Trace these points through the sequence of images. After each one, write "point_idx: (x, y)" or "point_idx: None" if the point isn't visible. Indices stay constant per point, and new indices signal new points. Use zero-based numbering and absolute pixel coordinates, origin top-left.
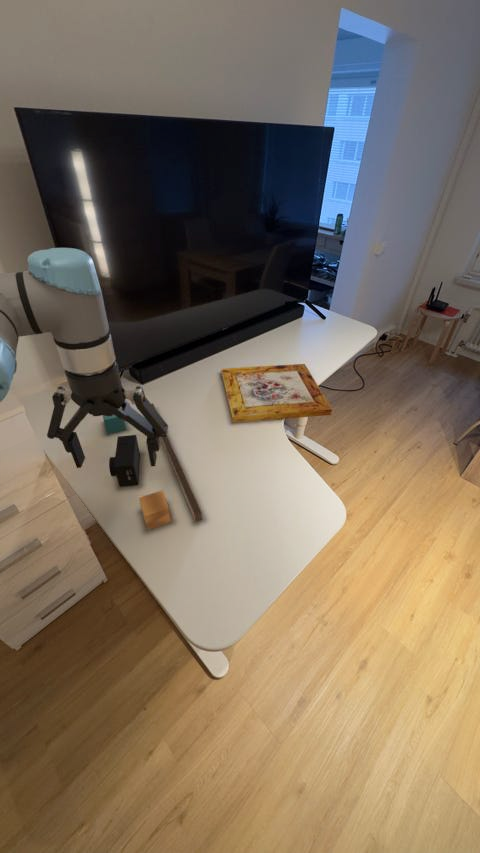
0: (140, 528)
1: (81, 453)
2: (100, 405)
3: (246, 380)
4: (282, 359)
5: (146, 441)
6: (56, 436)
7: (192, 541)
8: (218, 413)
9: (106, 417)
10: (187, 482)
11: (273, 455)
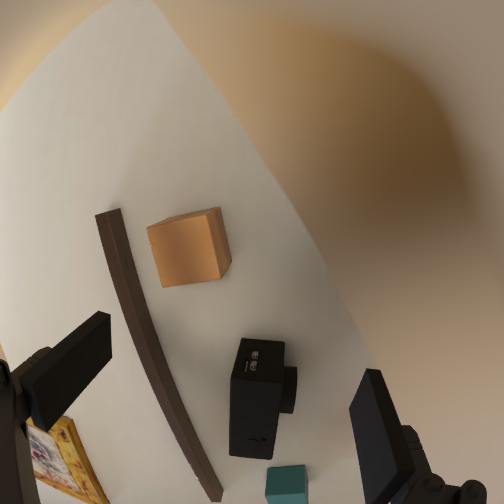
0: (236, 216)
1: (359, 421)
2: None
3: (63, 477)
4: (36, 481)
5: (31, 383)
6: (451, 491)
7: (129, 161)
8: (98, 446)
9: (298, 496)
10: (122, 307)
11: (8, 326)
